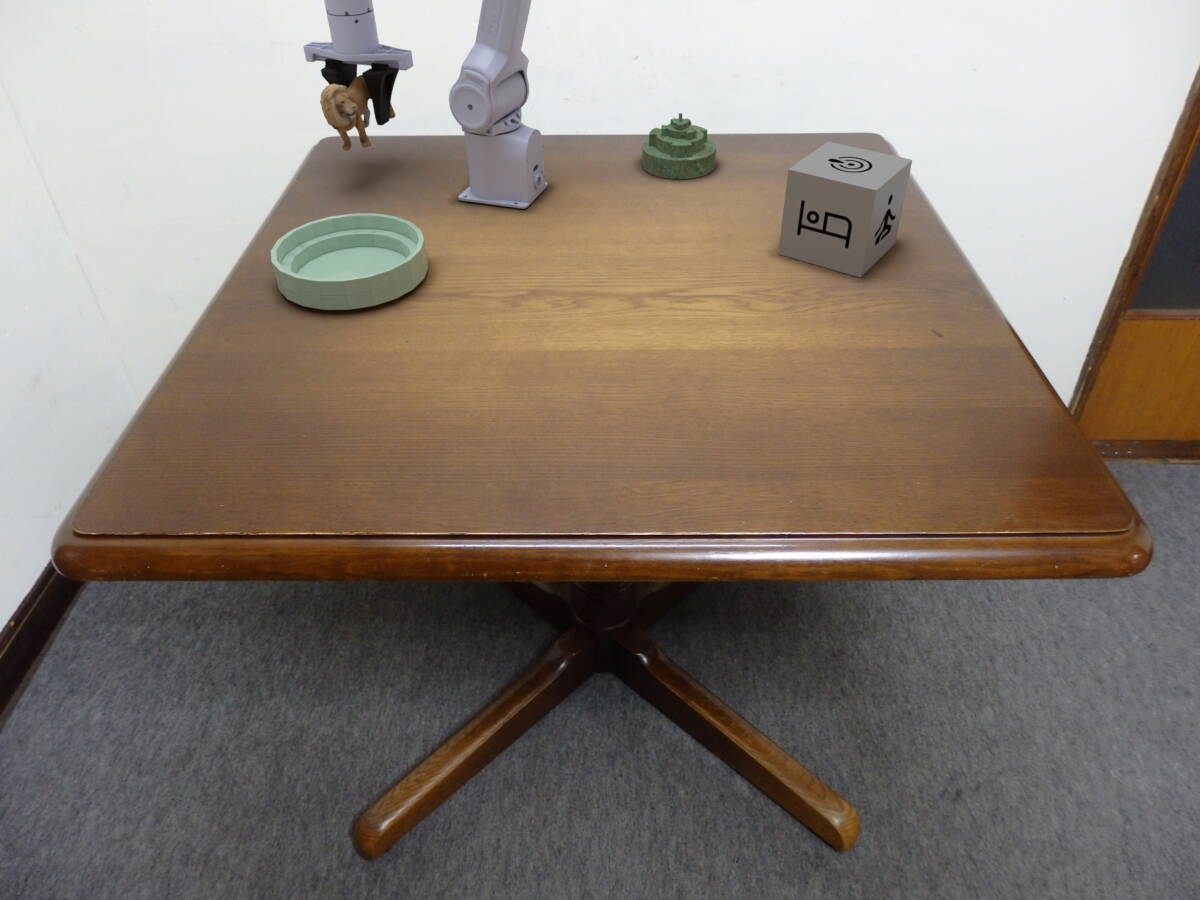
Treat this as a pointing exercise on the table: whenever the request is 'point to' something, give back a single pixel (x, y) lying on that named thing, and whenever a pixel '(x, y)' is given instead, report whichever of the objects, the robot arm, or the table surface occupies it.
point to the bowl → (349, 261)
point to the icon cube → (843, 207)
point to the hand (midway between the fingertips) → (369, 121)
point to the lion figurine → (348, 109)
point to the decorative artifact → (678, 151)
